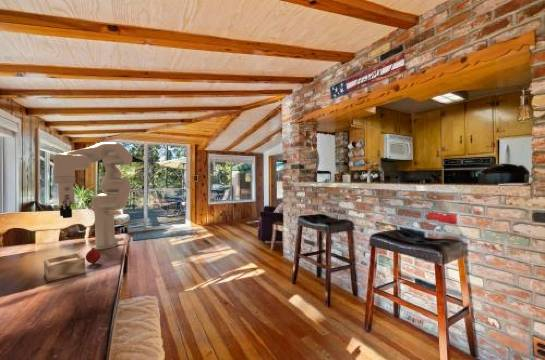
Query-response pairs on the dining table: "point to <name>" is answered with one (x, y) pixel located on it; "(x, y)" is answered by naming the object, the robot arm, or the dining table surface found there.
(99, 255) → the onion
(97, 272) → the dining table surface
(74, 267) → the beige square hollow tray
